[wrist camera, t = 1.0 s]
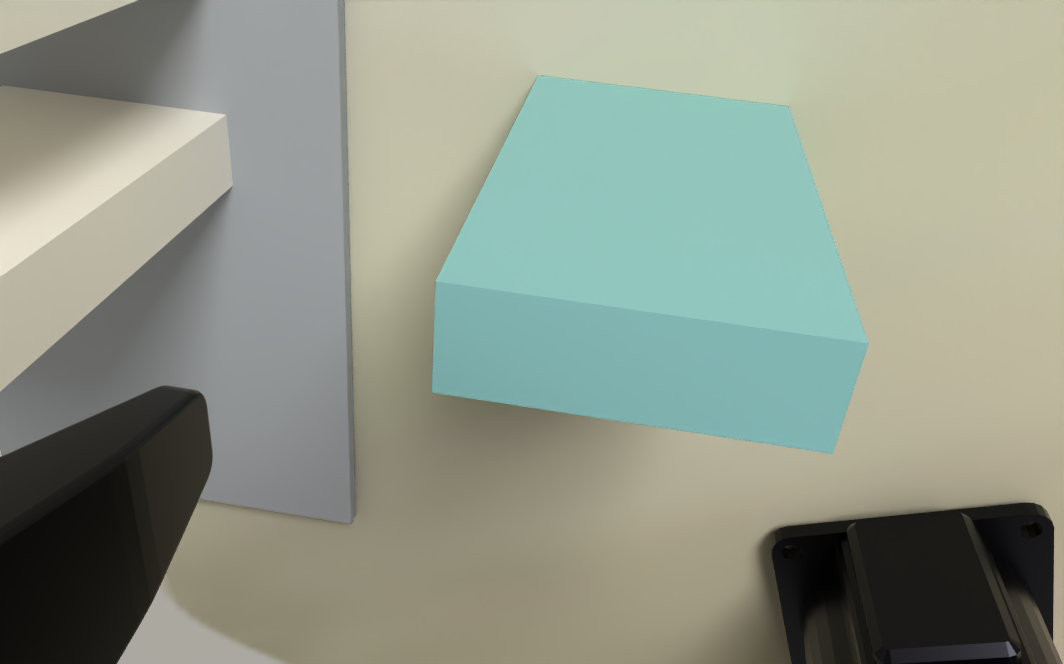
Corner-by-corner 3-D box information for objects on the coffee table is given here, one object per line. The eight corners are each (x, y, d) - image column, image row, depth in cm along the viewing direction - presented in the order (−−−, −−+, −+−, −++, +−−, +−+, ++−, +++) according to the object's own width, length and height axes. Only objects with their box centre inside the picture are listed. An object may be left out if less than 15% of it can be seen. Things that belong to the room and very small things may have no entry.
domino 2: (770, 182, 19) (832, 453, 11) (532, 151, 19) (431, 392, 12) (788, 106, 18) (868, 342, 10) (538, 75, 18) (435, 281, 11)
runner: (355, 514, 25) (351, 524, 25) (13, 458, 26) (5, 467, 26) (321, -1004, 12) (311, -1026, 11) (-391, -1027, 12) (-421, -1050, 12)
